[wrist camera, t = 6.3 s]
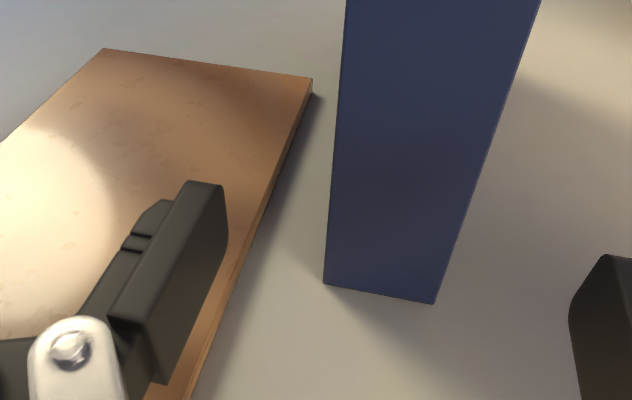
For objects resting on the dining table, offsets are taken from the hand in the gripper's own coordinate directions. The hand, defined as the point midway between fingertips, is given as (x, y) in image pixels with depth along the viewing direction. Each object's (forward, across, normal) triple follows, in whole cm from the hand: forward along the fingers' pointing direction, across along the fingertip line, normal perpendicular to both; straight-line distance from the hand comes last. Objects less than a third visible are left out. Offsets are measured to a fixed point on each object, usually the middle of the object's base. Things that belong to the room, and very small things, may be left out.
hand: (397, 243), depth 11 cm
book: (+13, 0, +7) cm, 15 cm away
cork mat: (+6, +11, +6) cm, 14 cm away
